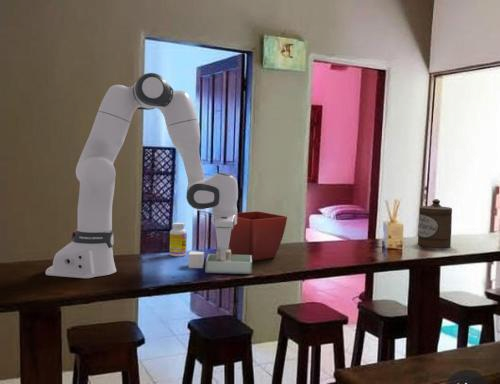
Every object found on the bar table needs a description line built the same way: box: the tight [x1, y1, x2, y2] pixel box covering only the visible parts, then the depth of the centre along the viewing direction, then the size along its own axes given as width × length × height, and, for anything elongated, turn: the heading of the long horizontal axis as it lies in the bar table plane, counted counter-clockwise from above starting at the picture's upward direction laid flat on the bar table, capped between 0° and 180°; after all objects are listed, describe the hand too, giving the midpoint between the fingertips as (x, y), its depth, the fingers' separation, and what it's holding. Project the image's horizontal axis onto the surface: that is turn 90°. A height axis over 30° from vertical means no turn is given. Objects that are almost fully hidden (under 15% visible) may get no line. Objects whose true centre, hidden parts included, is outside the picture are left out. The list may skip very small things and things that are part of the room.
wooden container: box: [417, 198, 453, 249], centre depth 251 cm, size 15×15×22 cm
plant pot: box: [228, 210, 288, 262], centre depth 210 cm, size 19×19×17 cm
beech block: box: [215, 248, 232, 262], centre depth 188 cm, size 5×5×6 cm
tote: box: [204, 253, 253, 275], centre depth 188 cm, size 16×13×4 cm
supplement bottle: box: [169, 222, 188, 257], centre depth 209 cm, size 7×7×13 cm
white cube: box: [188, 251, 205, 269], centre depth 191 cm, size 5×5×5 cm
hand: (223, 257), depth 188 cm, fingers open, 8 cm apart
